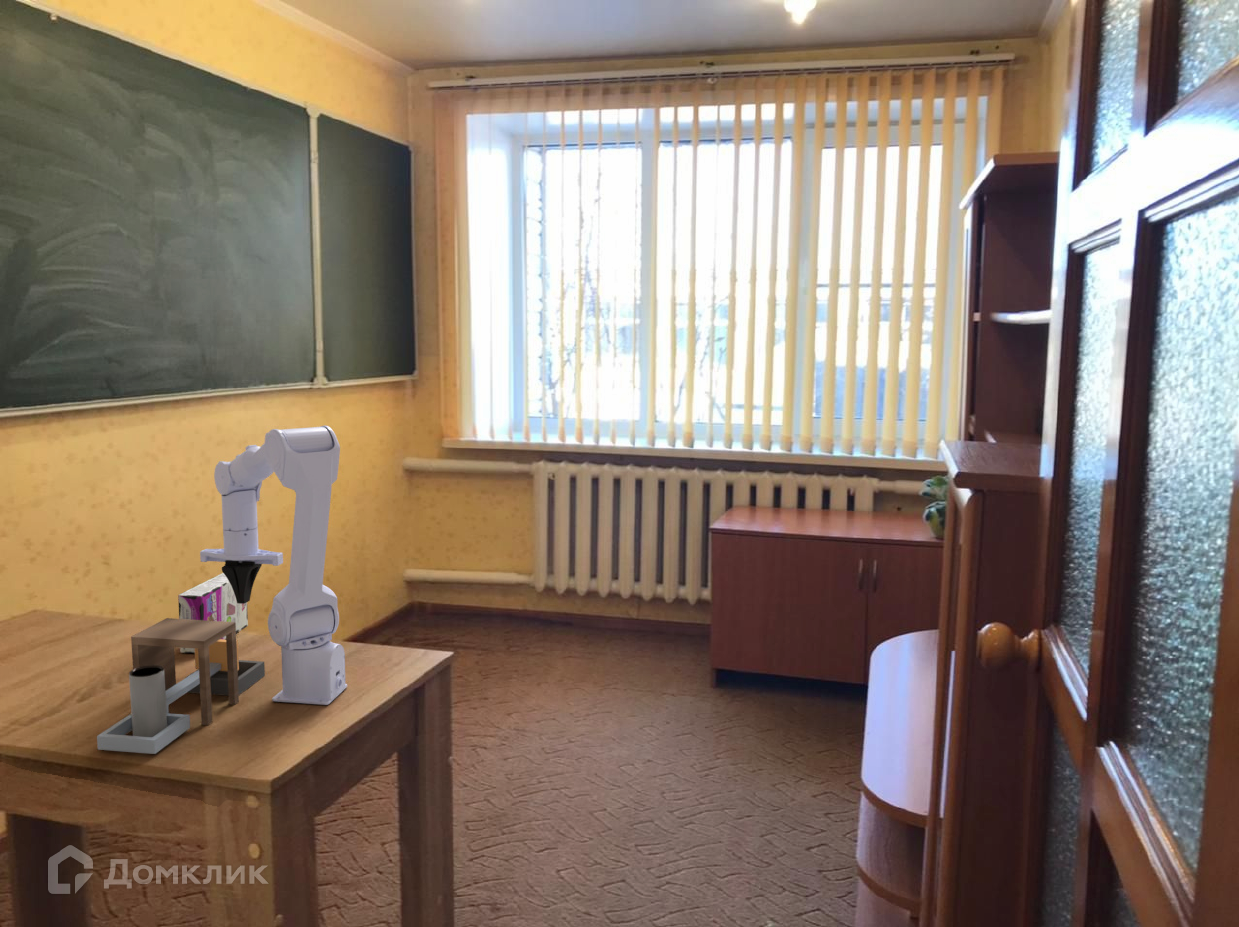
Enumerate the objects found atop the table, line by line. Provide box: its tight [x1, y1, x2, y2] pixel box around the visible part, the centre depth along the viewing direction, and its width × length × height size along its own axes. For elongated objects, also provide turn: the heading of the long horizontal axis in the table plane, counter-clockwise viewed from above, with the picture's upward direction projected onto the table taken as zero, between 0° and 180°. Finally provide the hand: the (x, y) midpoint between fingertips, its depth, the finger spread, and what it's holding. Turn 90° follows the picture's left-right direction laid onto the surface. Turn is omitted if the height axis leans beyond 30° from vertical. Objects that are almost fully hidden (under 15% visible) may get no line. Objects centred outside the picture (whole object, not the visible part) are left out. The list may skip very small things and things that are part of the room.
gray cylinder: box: [128, 665, 167, 737], centre depth 135 cm, size 4×4×10 cm
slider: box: [96, 639, 240, 755], centre depth 142 cm, size 9×24×8 cm, turn 173°
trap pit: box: [186, 659, 266, 696], centre depth 156 cm, size 9×9×2 cm
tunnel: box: [130, 617, 240, 726], centre depth 144 cm, size 12×9×13 cm
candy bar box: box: [177, 572, 249, 654], centre depth 177 cm, size 11×5×16 cm
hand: (243, 601), depth 167 cm, fingers closed
